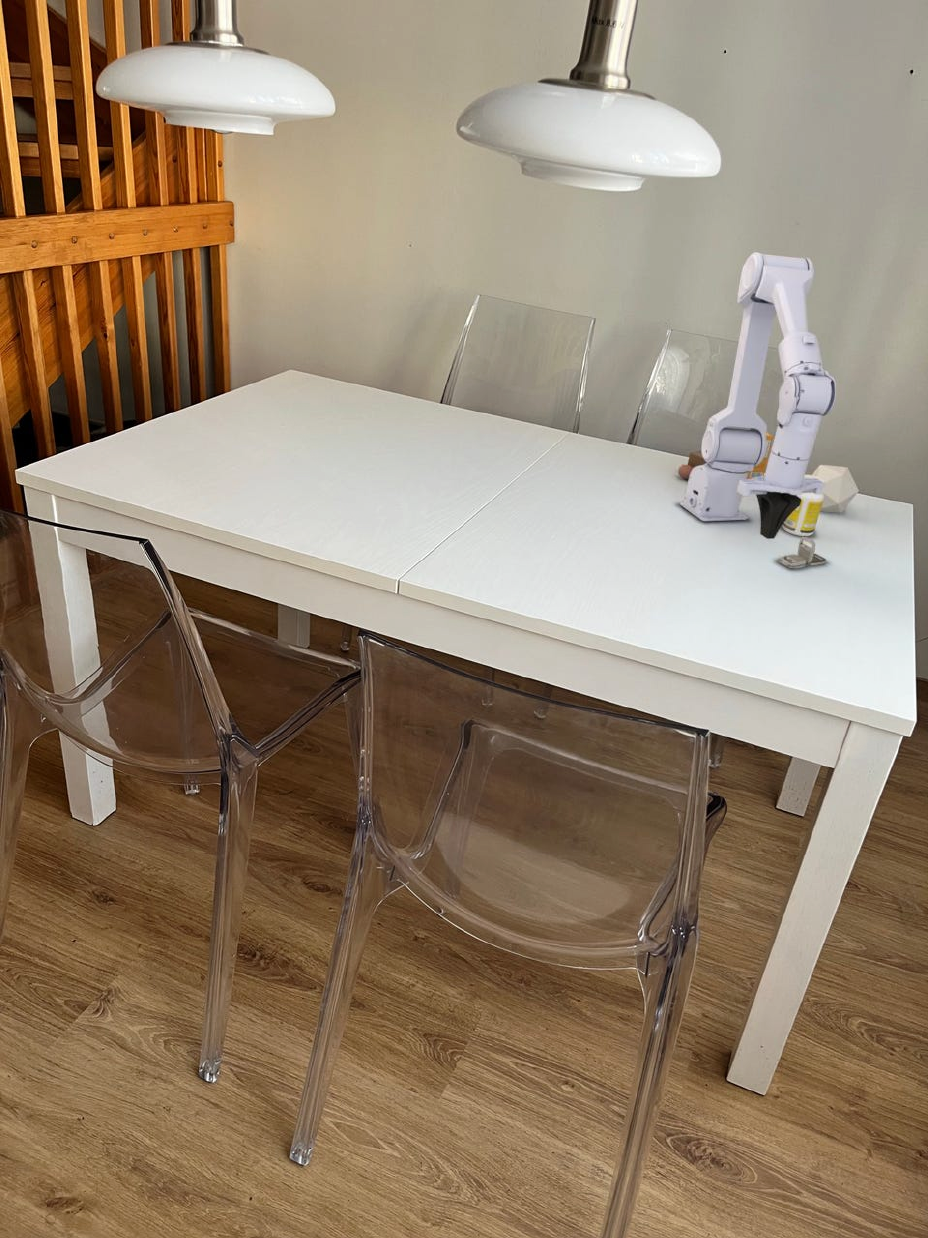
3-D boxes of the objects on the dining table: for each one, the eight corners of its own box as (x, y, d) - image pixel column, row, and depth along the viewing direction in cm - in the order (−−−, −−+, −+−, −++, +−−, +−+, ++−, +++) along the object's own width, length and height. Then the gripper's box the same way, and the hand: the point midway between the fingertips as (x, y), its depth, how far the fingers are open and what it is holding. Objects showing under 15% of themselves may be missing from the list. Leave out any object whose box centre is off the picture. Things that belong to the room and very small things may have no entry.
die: (841, 525, 178) (876, 481, 177) (805, 496, 176) (839, 451, 176) (821, 523, 186) (854, 481, 185) (786, 495, 185) (819, 453, 184)
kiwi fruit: (706, 480, 189) (709, 467, 188) (686, 482, 186) (689, 469, 185) (687, 470, 193) (689, 457, 192) (667, 472, 190) (670, 460, 189)
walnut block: (704, 485, 187) (710, 460, 184) (684, 476, 190) (690, 452, 188) (720, 481, 190) (726, 457, 187) (700, 473, 193) (706, 449, 191)
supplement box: (739, 478, 193) (752, 429, 188) (756, 479, 193) (769, 431, 189) (745, 484, 190) (758, 435, 185) (762, 485, 190) (775, 436, 186)
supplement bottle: (814, 529, 172) (830, 477, 168) (810, 539, 168) (827, 486, 163) (783, 522, 174) (798, 470, 169) (779, 531, 170) (794, 478, 165)
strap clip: (790, 569, 155) (797, 545, 153) (776, 561, 158) (783, 538, 156) (826, 563, 159) (834, 539, 157) (812, 555, 162) (820, 532, 160)
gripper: (766, 463, 141) (743, 548, 147) (845, 462, 146) (820, 544, 152) (738, 447, 147) (717, 529, 153) (816, 446, 152) (793, 526, 158)
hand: (767, 536), depth 153 cm, fingers closed
